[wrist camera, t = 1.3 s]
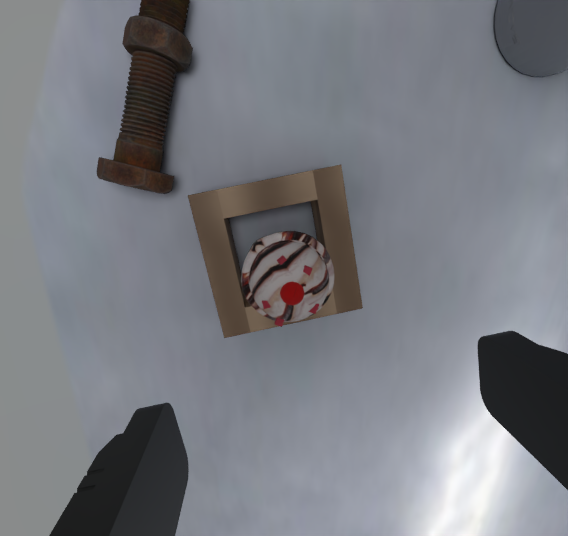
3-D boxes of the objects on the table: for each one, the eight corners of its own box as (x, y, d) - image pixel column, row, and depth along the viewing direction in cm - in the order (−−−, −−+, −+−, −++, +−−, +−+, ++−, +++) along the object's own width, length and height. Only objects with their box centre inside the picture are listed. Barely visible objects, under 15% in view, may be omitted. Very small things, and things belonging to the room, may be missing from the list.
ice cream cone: (258, 205, 31) (262, 223, 17) (317, 228, 32) (368, 264, 18) (237, 264, 32) (222, 329, 18) (294, 285, 33) (324, 362, 19)
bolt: (188, 10, 29) (155, 189, 32) (124, -27, 26) (93, 175, 29) (217, -14, 25) (176, 197, 27) (143, -62, 22) (104, 181, 24)
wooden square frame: (330, 167, 31) (341, 164, 27) (350, 294, 34) (362, 308, 30) (196, 194, 31) (187, 195, 27) (227, 320, 34) (224, 337, 30)
